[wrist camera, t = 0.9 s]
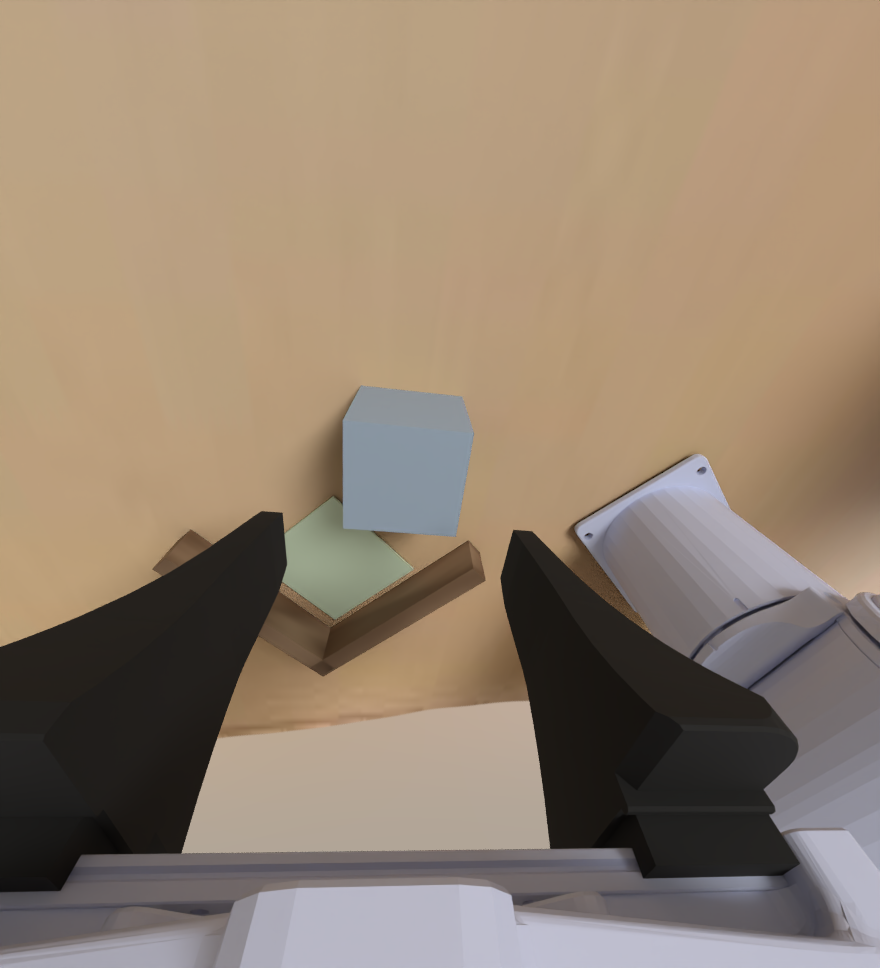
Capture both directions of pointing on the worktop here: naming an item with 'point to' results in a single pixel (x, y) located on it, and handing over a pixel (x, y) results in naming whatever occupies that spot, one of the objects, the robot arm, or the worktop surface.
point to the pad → (338, 561)
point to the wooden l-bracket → (364, 627)
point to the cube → (405, 461)
